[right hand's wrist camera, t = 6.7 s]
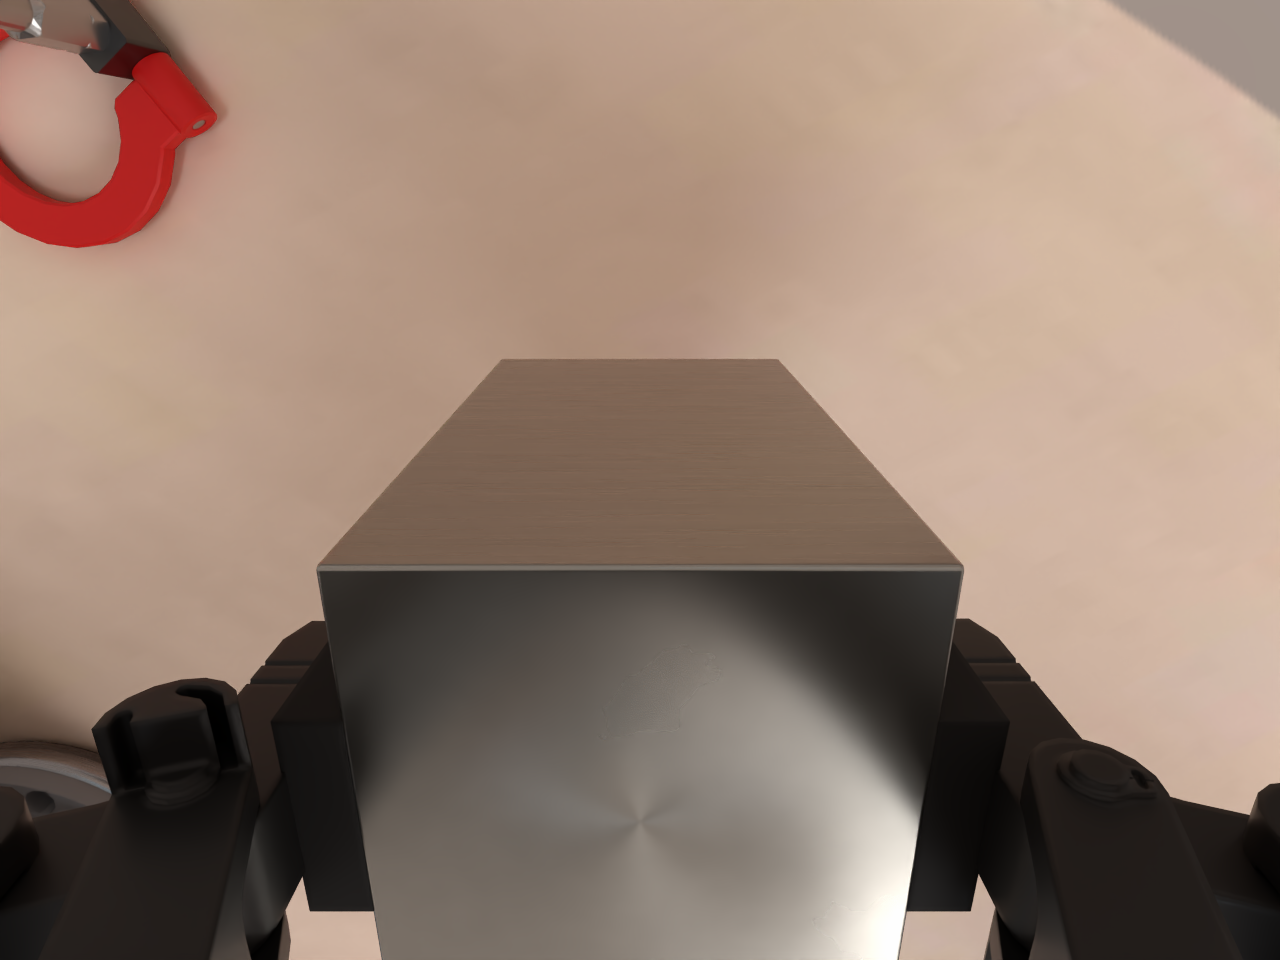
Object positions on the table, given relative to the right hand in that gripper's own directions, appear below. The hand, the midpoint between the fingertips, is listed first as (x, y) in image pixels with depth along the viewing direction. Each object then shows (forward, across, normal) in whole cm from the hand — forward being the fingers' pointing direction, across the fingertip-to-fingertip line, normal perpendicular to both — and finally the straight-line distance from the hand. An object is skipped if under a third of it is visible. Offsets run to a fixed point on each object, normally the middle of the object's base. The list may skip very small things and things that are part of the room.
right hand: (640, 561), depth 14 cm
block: (+4, 0, 0) cm, 4 cm away
